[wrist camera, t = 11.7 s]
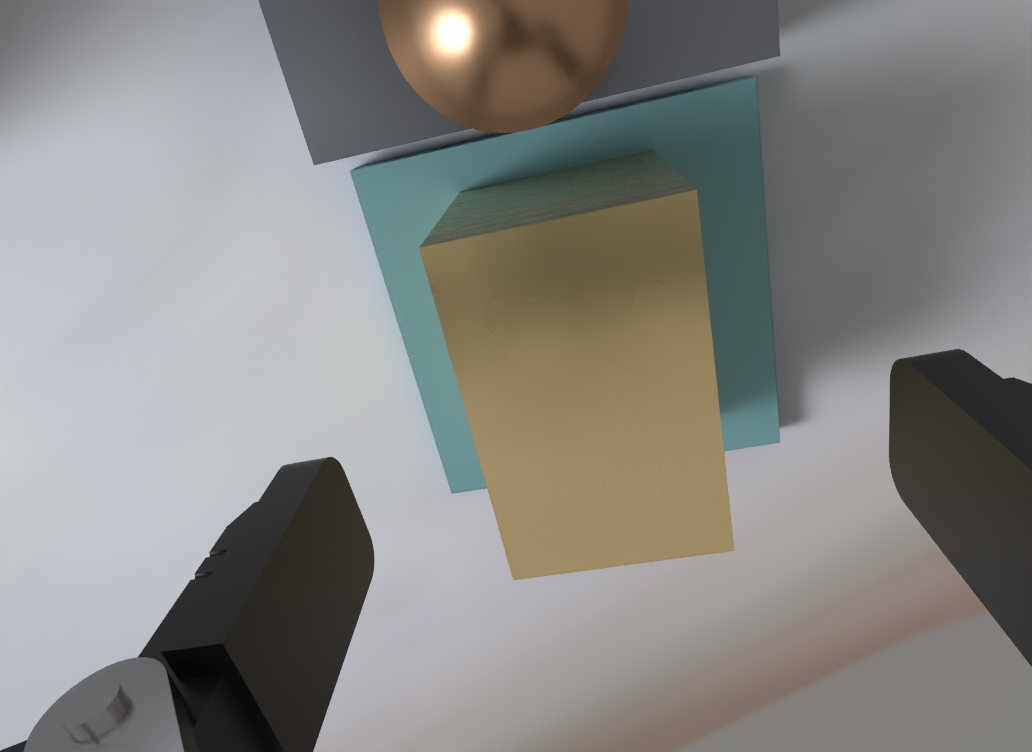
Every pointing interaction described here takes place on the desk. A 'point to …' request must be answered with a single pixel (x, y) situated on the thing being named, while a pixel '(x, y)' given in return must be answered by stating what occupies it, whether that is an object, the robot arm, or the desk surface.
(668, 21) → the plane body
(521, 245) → the tan rectangular block
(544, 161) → the mat
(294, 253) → the desk surface
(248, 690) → the robot arm
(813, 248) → the desk surface
